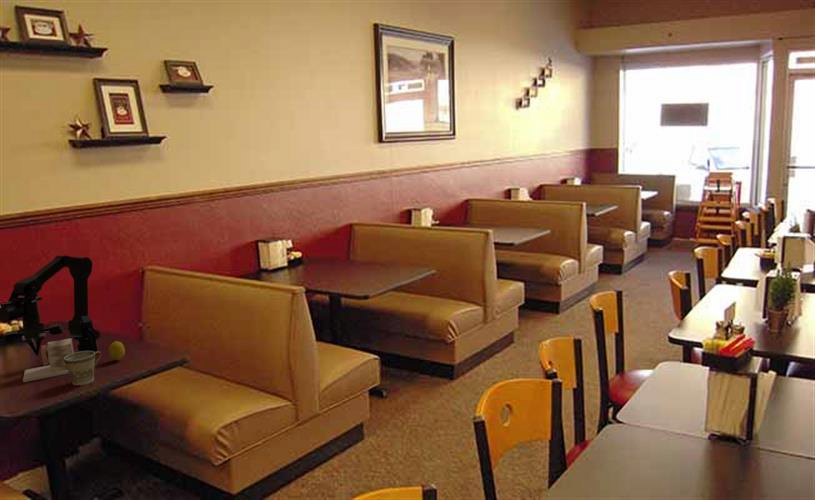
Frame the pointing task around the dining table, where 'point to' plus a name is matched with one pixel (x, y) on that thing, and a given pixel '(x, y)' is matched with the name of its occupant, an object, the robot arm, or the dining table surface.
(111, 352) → the lemon
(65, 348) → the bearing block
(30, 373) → the mounting plate
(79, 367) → the ceramic cup
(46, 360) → the shaft
